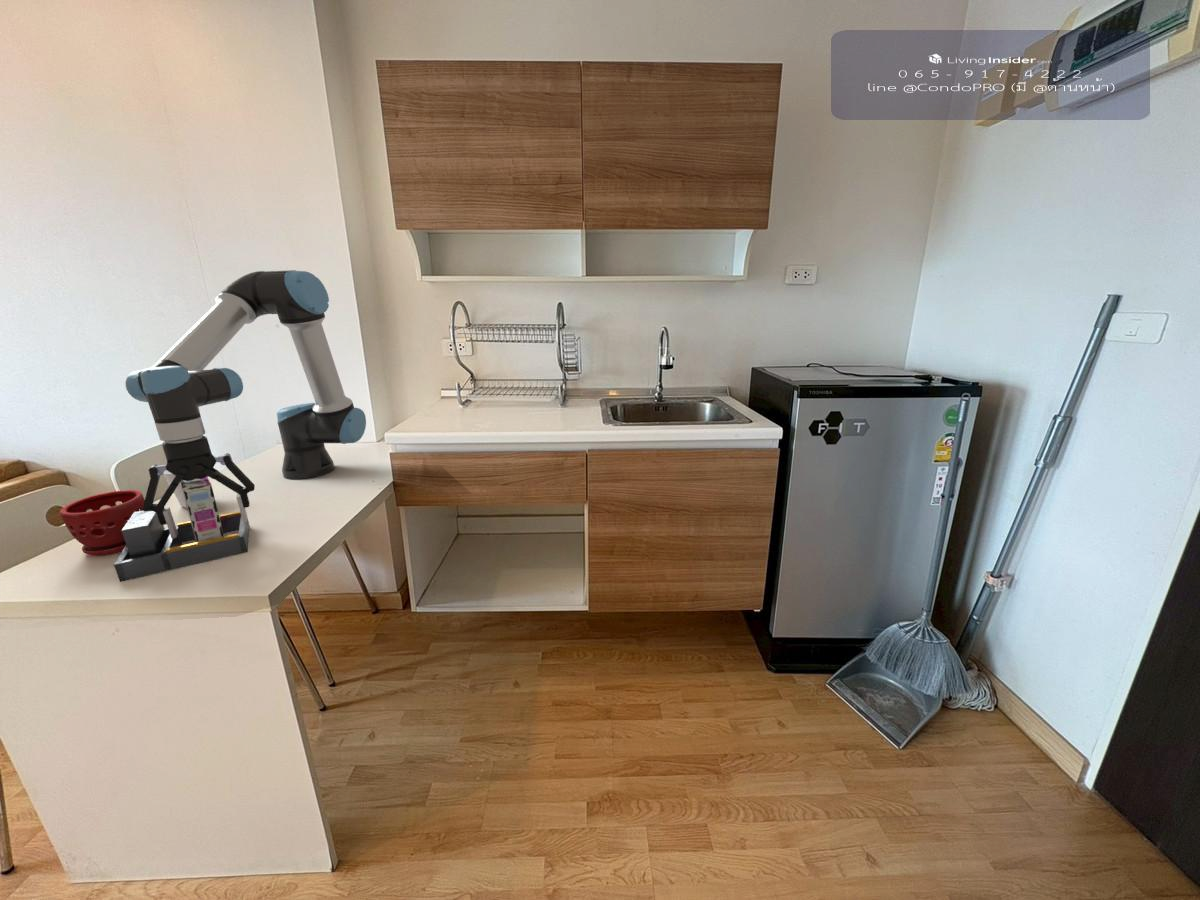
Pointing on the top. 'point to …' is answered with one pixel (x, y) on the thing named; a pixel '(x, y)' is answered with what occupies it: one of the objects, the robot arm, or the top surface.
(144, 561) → the tray
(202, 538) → the candy bar box
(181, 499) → the cup
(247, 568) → the top surface
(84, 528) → the plant pot
